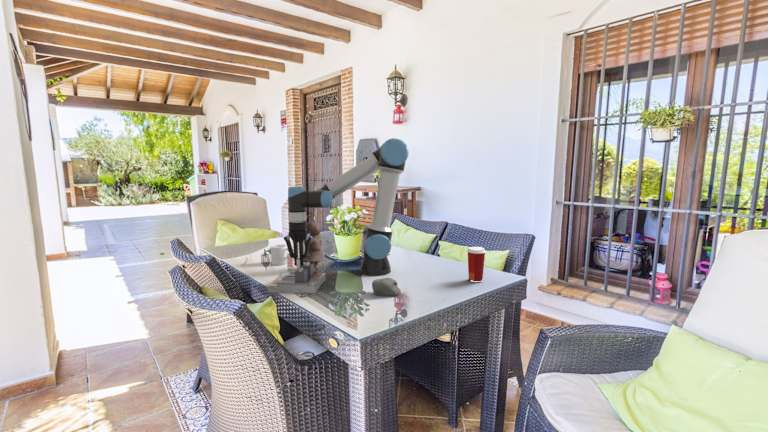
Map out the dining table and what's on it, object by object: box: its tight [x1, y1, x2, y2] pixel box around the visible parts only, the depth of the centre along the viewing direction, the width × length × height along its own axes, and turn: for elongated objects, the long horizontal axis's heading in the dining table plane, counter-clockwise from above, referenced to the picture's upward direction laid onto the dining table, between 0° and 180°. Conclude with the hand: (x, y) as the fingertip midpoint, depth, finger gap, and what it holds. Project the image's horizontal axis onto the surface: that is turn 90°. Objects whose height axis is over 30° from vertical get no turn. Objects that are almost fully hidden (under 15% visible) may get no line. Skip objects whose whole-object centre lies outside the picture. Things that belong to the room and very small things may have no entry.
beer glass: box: [466, 246, 487, 281], centre depth 172 cm, size 8×8×15 cm
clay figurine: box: [303, 220, 325, 271], centre depth 192 cm, size 13×10×25 cm
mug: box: [270, 244, 291, 266], centre depth 206 cm, size 8×12×10 cm
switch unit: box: [267, 270, 327, 294], centre depth 168 cm, size 20×20×4 cm
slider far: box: [302, 262, 314, 276], centre depth 172 cm, size 4×5×6 cm
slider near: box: [294, 268, 308, 283], centre depth 162 cm, size 4×5×6 cm
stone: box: [371, 277, 402, 297], centre depth 156 cm, size 9×9×10 cm
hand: (299, 272), depth 173 cm, fingers closed
